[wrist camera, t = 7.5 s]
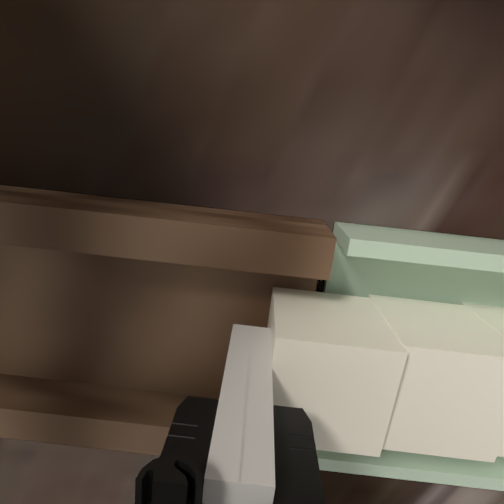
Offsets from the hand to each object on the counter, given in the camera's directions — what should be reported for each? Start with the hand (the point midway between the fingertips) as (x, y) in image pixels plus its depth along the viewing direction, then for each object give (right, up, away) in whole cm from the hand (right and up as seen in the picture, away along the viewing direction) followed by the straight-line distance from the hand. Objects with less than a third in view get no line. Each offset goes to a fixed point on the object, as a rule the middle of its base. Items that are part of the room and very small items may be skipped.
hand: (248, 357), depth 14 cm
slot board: (-7, +2, +2) cm, 8 cm away
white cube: (+7, 0, +2) cm, 7 cm away
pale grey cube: (+3, +1, +1) cm, 3 cm away
